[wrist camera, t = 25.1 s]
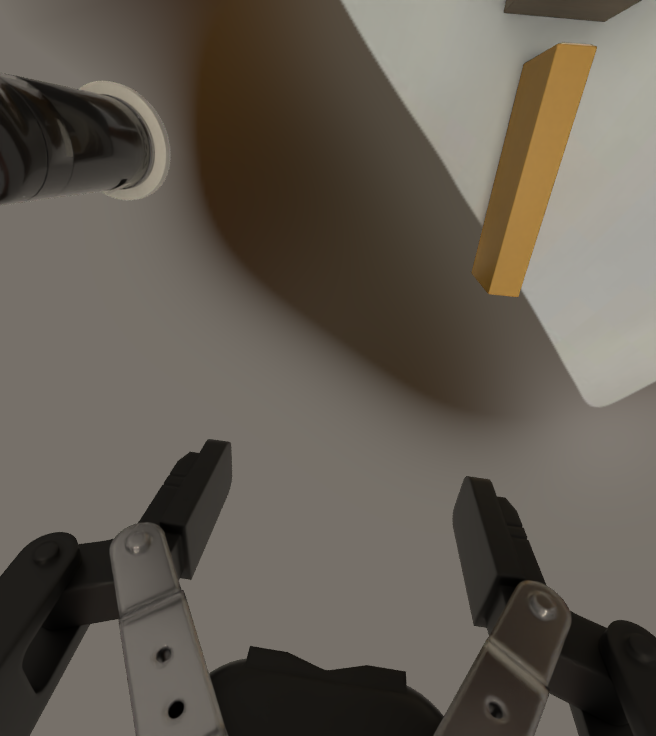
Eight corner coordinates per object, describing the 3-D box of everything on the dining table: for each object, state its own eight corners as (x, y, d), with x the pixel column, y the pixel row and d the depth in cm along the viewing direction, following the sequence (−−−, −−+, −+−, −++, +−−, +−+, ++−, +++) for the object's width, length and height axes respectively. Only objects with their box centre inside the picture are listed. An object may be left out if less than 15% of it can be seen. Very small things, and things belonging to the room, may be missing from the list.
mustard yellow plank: (496, 275, 47) (518, 297, 40) (471, 273, 47) (488, 294, 40) (556, 64, 38) (598, 44, 31) (524, 62, 38) (558, 41, 31)
